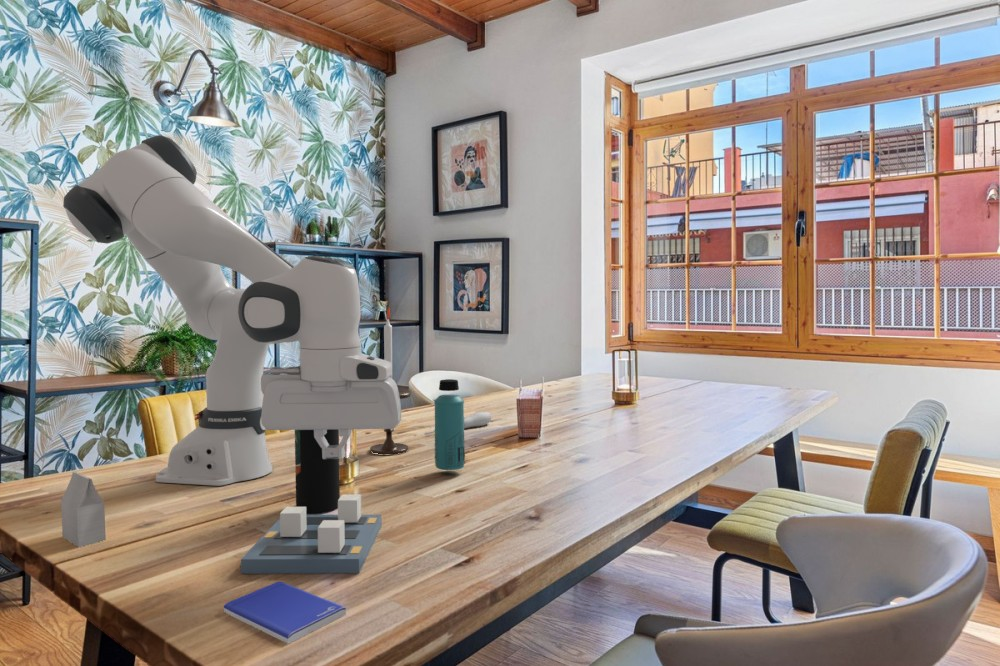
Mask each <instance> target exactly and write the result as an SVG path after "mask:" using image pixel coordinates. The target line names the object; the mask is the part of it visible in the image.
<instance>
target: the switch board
mask: <svg viewBox="0 0 1000 666" xmlns="http://www.w3.org/2000/svg"><path fill="white" fill-rule="evenodd" d="M382 518H383V517H382V514H361V517H360V519H359V520H358V522H344V526H345V545H344V546H343V548H342V550H341V551H340V553H318V527H319V525H320V524H321V523H322V521H323V520H338V514H306V521H307V530H306V531H305V532H304V533H303V535H302V536H301V537H280V518H278V520H276V521H275V523H274V524H273V525H272V526H271V527H270V528H269V529H268V530H267V531H266V532H265V533H264V534H263V536H262V537H261V538H259V540H257V542H256V543H255V544H254V545H253V546H252V547H251V548H250V549H249V550H248V551H247V552H246V553H245V554H244V555H243V556H242V557H241V558H240V574H241V575H245V574H247V575H248V574H249V575H251V574H252V575H253V574H257V575H258V574H259V575H260V574H262V575H263V574H264V575H265V574H268V575H269V574H270V575H271V574H273V575H274V574H275V575H276V574H279V575H280V574H282V575H283V574H285V575H286V574H288V575H289V574H292V575H293V574H301V575H302V574H306V575H307V574H310V575H311V574H360V573H361V570H362V568H363V566H364V564H365V562H366V560H367V558H368V556H369V554H370V551H372V548H371V547H373V545H374V544H375V541H376V539H377V537H378V535H379V533H380V531H381V529H380V528H382V527H381V526H382ZM379 530H380V531H379ZM378 532H379V533H378ZM377 534H378V535H377Z"/></svg>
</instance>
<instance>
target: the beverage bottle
mask: <svg viewBox="0 0 1000 666" xmlns="http://www.w3.org/2000/svg"><path fill="white" fill-rule="evenodd" d="M459 388H460V387H459V381H458V379H452V378H451V379H441V380H439V386H438V390H439V391H443V392H451V391H453V392H454V391H459ZM464 403H465V400H464V399H463V398H462V397H461V396H460V395H458V394H441V395H439V396H438V397H437V398H436V399H435V400H434V402H433V404H434V430H435V432H434V441H433V442H434V445H433V446H434V452H433V453H434V464H435V465H434V466H435V467H436V469H439V470H442V471H443V470H445V471H455V470H456V471H457V470H460V469H463V468H464V467H465V464H466V460H465V458H466V452H465V437H466V436H465V435H466V434H465V429H464V426H465V424H464V418H465V415H464V413H465V411H464V408H465V406H464V405H465V404H464Z"/></svg>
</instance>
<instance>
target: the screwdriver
mask: <svg viewBox="0 0 1000 666" xmlns="http://www.w3.org/2000/svg"><path fill="white" fill-rule="evenodd" d="M492 417H493V416H492V415H491V412H488V411H476V412H475V413H472V414H471V415H469V416H466V417H464V424H465V426H464V430H465V429H468V428H477V427H478V428H479V426H481V427H483V426H486V425H488V424H489V423H490V422H491V421H492ZM429 434H435V430H430V431H426V432H425V433H424V435H426V436H427V435H429Z"/></svg>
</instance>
